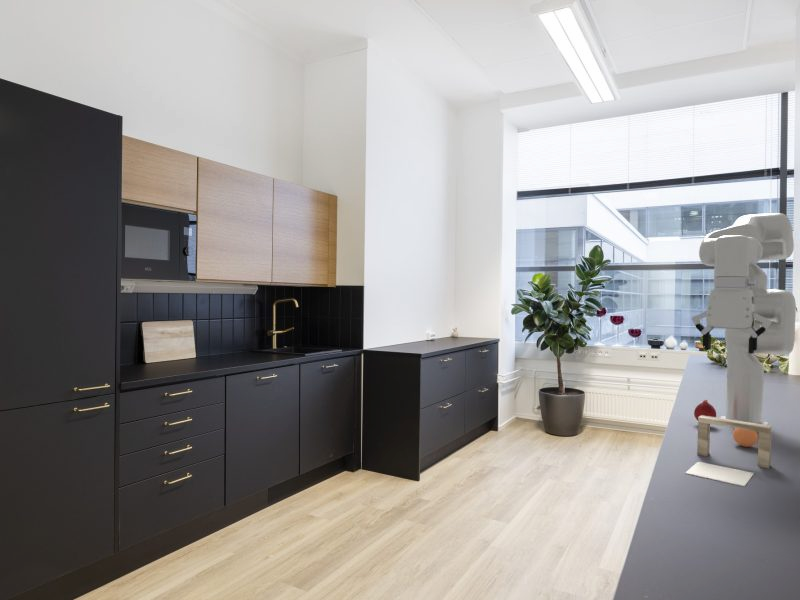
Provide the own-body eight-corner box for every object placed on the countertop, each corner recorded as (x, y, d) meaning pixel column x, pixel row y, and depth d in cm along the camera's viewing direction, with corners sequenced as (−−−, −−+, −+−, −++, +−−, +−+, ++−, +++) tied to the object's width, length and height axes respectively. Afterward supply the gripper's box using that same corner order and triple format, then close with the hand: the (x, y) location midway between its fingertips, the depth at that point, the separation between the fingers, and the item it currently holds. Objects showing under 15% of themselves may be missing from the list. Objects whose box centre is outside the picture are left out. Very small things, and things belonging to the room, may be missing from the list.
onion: (719, 429, 157) (719, 402, 157) (697, 427, 158) (698, 400, 158) (711, 424, 162) (712, 398, 162) (691, 423, 163) (691, 397, 163)
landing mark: (697, 462, 124) (697, 461, 124) (753, 473, 117) (753, 473, 117) (685, 473, 116) (685, 472, 116) (744, 486, 109) (744, 485, 109)
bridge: (700, 451, 133) (701, 415, 133) (770, 465, 123) (771, 425, 123) (697, 454, 131) (698, 417, 130) (768, 468, 121) (769, 428, 121)
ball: (734, 442, 143) (735, 421, 143) (759, 446, 139) (760, 425, 139) (730, 446, 139) (731, 425, 138) (755, 450, 135) (756, 429, 135)
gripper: (774, 284, 132) (772, 353, 133) (697, 284, 144) (695, 347, 144) (769, 284, 127) (767, 356, 127) (689, 283, 138) (687, 349, 139)
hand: (729, 351), depth 136 cm, fingers open, 9 cm apart
